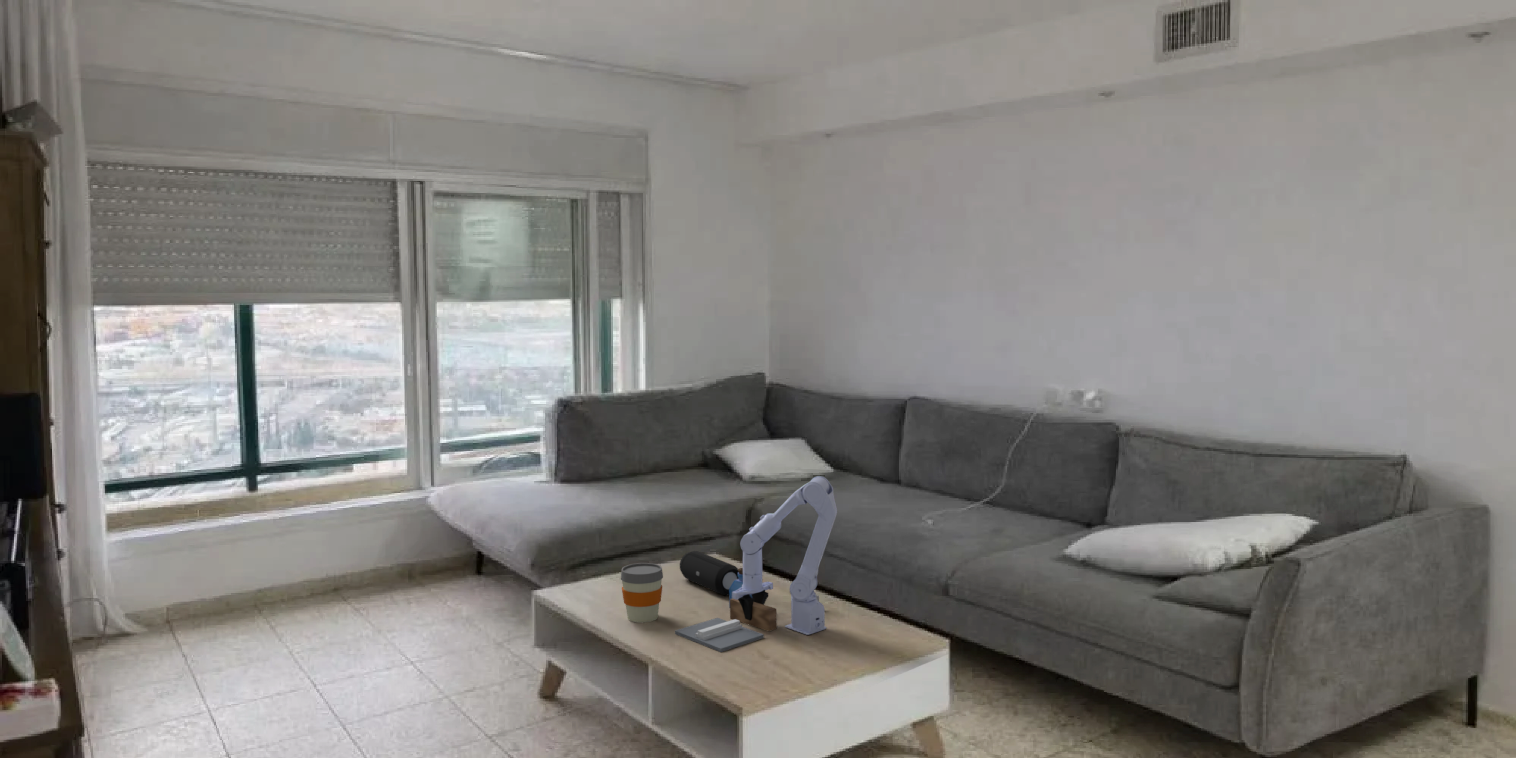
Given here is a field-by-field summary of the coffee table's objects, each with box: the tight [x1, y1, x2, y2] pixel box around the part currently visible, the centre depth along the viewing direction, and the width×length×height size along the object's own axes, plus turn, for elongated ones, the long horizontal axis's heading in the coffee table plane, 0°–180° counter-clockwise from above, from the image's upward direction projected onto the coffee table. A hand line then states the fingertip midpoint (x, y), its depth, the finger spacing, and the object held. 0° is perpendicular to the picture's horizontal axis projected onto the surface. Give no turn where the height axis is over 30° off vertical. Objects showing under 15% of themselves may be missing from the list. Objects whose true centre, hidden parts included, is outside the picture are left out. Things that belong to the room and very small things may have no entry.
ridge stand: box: [674, 617, 765, 653], centre depth 295 cm, size 20×16×3 cm
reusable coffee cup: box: [620, 562, 664, 624], centre depth 311 cm, size 12×13×15 cm
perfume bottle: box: [728, 567, 752, 609], centre depth 320 cm, size 6×6×12 cm
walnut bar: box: [729, 598, 778, 632], centre depth 305 cm, size 16×3×6 cm, turn 46°
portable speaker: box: [679, 550, 739, 596], centre depth 341 cm, size 26×10×10 cm, turn 35°
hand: (753, 617), depth 305 cm, fingers closed on walnut bar, 3 cm apart
